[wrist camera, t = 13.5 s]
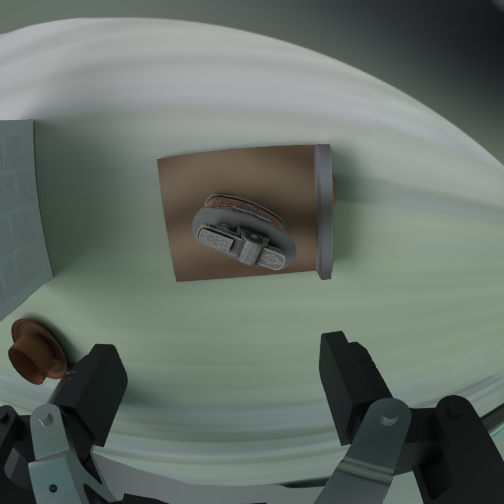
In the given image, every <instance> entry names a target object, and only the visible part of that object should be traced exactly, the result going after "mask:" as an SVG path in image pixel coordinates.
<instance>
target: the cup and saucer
mask: <svg viewBox="0 0 504 504" xmlns="http://www.w3.org/2000/svg"><path fill="white" fill-rule="evenodd" d="M11 332H12V338H13V341H14V344H13V345H12V346H11V348H10V349H9V350H8V356H9V359H10V361H11V363H12V365H13V367H14V368H15V369H16V371H17V372H18V373H19V374H20V375H21V376H22V377H23V378H24V379H26V380H27V381H29V382H31V383H33V384H36V385H40V384H42V383H43V381H44V380H45V378H46V377H48V378H52V379H60V378H62V377H63V375H64V374H65V372H67V360H66V357H65V355H64V352H63V350H62V348H61V347H60V345H59V343H58V342H57V341H56V339H55V338H54V337H53V336H52V335H51V334H50V333H49V332H48V331H47V330H46V329H45V328H44V327H42V326H41V325H39V324H38V323H36V322H34V321H32V320H29V319H18V320H17V321H15V322H14V323H13V325H12V330H11Z"/></svg>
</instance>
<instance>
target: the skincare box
mask: <svg viewBox="0 0 504 504" xmlns="http://www.w3.org/2000/svg"><path fill="white" fill-rule="evenodd" d="M52 278H53V273H52V269H51V265H50V261H49V257H48V252H47V248H46V243H45V238H44V233H43V227H42V222H41V215H40V209H39V202H38V194H37V185H36V174H35V161H34V121H33V119H28V120H0V322H1V321H2V320H3V319H4V318H5V317H6V316H8V315H9V314H11V313H12V312H13V311H14V310H15V309H16V308H17V307H19V306H20V305H21V304H22V303H23V302H24V301H25V300H26V299H28V297H29V296H30V295H32V294H33V293H34V292H35V291H36V290H38V289H39V288H40V287H41V286H43V285H44V284H45V283H46V282H47V281H49V280H51V279H52Z"/></svg>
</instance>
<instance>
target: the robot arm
mask: <svg viewBox="0 0 504 504" xmlns="http://www.w3.org/2000/svg"><path fill="white" fill-rule="evenodd" d="M319 373H320V378H321V382H322V385H323V388H324V391H325V394H326V397H327V401H328V404H329V407H330V410H331V413H332V417H333V420H334V423H335V426H336V430H337V433H338V436H339V440H340V443H341V446H344V445H348V444H351V446H350V448H349V449H348V451H347V453H346V455H345V457H344V458H343V460H341V461H340V463H339V464H338V466H337V467H336V469H335V471H334V472H333V474H332V476H331V477H330V479H329V480H328V482H327V484H326V485H325V487H324V488H323V490H322V491H321V493H320V494H319V496H318V497H317V499H316V501H315V502H314V503H313V504H382V503H383V501H384V499H385V496H386V494H387V492H388V490H389V488H390V485H391V483H392V480H393V476H394V474H393V471H394V468H395V467H399V466H411V467H412V470H413V473H414V475H415V478H416V481H417V484H418V487H419V490H420V493H421V497H422V499H423V503H424V504H504V461H503V459H502V457H501V455H500V453H499V451H498V449H497V448H496V446H495V444H494V442H493V440H492V438H491V437H490V435H489V433H488V431H487V430H486V428H485V426H484V424H483V423H482V421H481V419H480V418H479V416H478V414H477V413H476V411H475V409H474V408H473V406H472V405H471V403H470V402H469V401H468V400H467V399H465V398H463V397H461V396H457V395H450V396H446V397H444V398H442V399H441V400H440V401H439V402H438V404H437V406H436V408H419V409H414V408H409V407H408V405H407V404H406V403H404V402H403V401H401V400H398V399H395V398H393V396H392V395H391V393H390V391H389V389H388V387H387V385H386V383H385V382H384V380H383V378H382V376H381V374H380V373H379V371H378V369H377V368H376V365H375V363H374V362H373V361H372V358H371V356H370V355H369V353H368V351H367V349H366V348H364V347H363V346H362V345H360V344H359V343H358V342H352V343H348V341H347V339H346V337H345V335H344V333H343V332H342V331H336V332H329V333H322V335H321V344H320V358H319ZM127 383H128V379H127V373H126V371H125V368H124V366H123V364H122V361H121V359H120V357H119V354H118V352H117V349H116V347H115V346H114V345H112V344H95V345H94V346H93V348H92V350H91V351H90V353H89V354H88V355H86V356H85V357H83V358H82V359H81V360H80V361H79V362H77V364H75V365H71V366H70V367H69V368H68V369H67V372H65V374H64V375H63V377H62V379H61V380H60V382H59V383H58V385H57V386H56V388H55V390H54V391H53V393H52V394H51V396H50V398H49V399H48V401H47V403H46V404H43V405H41V406H39V407H37V408H36V409H35V410H34V411H33V413H32V414H31V415H18V414H17V412H16V411H15V410H14V408H13V407H11V406H9V405H4V406H1V407H0V504H168V503H165V502H163V501H160V500H157V499H153V498H147V497H141V496H136V495H131V494H125V493H124V497H123V500H121V501H118V500H117V499H116V498H115V496H114V495H113V494H112V493H111V491H110V490H109V488H108V486H107V484H106V482H105V480H104V477H103V475H102V473H101V471H100V468H99V466H98V464H97V461H96V459H95V456H94V454H93V449H94V447H95V446H100V447H104V445H105V442H106V439H107V437H108V434H109V431H110V428H111V426H112V423H113V420H114V418H115V415H116V413H117V410H118V407H119V405H120V402H121V400H122V397H123V395H124V392H125V390H126V387H127ZM12 449H13V450H14V451H15V452H16V453H17V454H18V456H17V459H16V461H15V463H14V465H13V467H12V470H11V471H10V473H9V475H8V477H7V476H6V475H5V472H4V466H5V463H6V461H7V459H8V457H9V454H10V452H11V450H12ZM253 504H266V503H253Z"/></svg>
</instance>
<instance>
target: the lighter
mask: <svg viewBox="0 0 504 504" xmlns="http://www.w3.org/2000/svg"><path fill="white" fill-rule="evenodd" d="M192 231H193V234H194V236H195V237H196V238H197V240H198V241H199V242H201V243H203V244H206V245H207V246H209V247H211V248H212V249H214V250H216V251H218V252H220V253H222V254H225V255H227V256H229V257H231V258H234V259H236V260H238V261H240V262H241V263H243V264H246V265H249V266H255V265H256V266H261V267H267V268H271V269H274V270H280V269H283V268H286V267H288V266H289V265H290V264H292V262H293V261H294V259H295V257H296V253H297V249H296V245H295V243H294V241H293V239H292V238H291V237H290V236H289V235H288V234H287V232H286V230H285V224H284V222H283V220H282V218H281V217H280V216H278V215H277V214H275V213H274V212H272V211H271V210H269V209H268V208H266V207H264V206H262V205H260V204H258V203H255V202H253V201H251V200H248V199H245V198H242V197H238V196H235V195H229V194H224V193H214V194H212V195H211V196H210V197H209V198H208V199H207V201H206V202H205V206H204V208H202V209H201V210H200V211H199V212H197V214H196V215H195V217H194V219H193V222H192Z"/></svg>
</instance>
